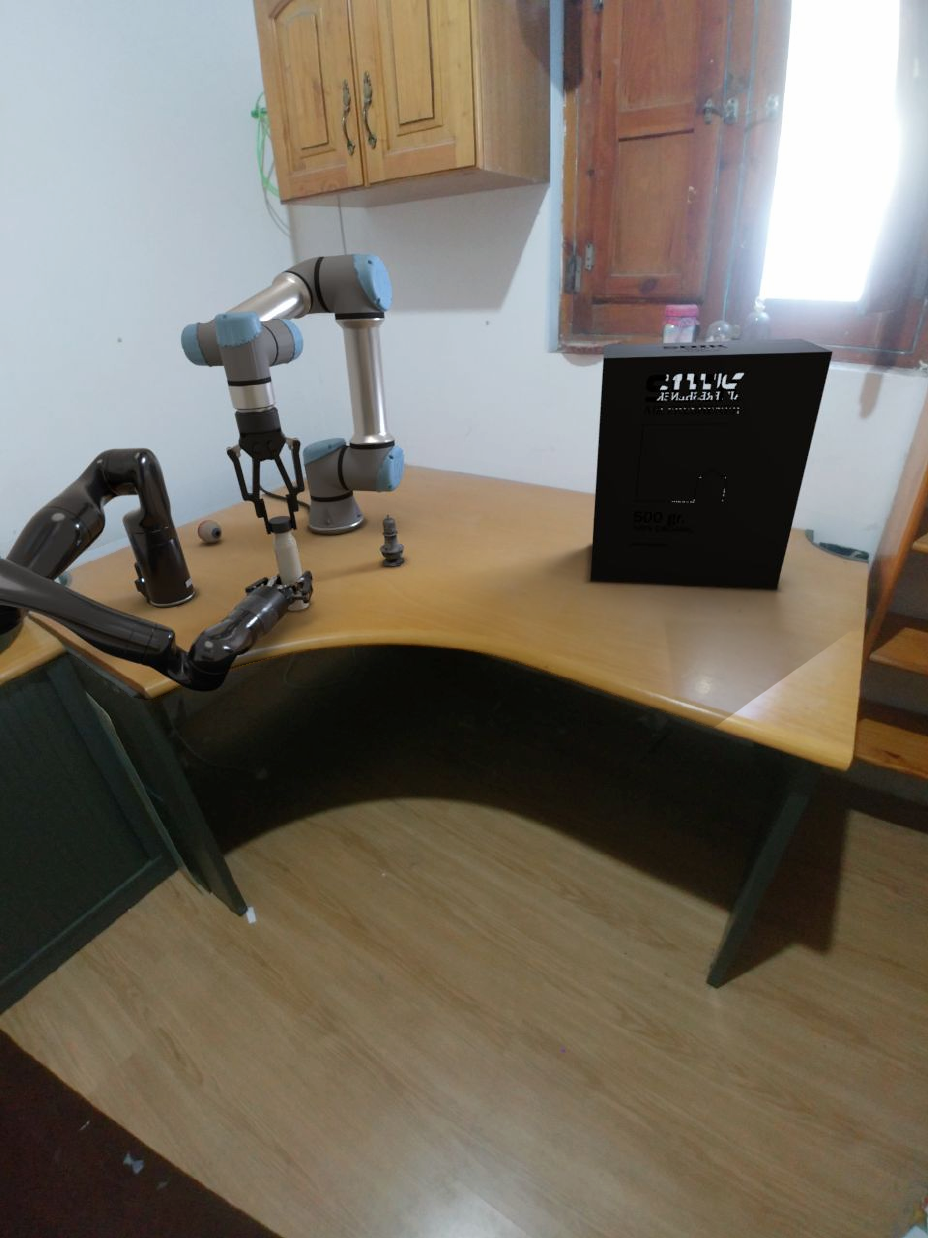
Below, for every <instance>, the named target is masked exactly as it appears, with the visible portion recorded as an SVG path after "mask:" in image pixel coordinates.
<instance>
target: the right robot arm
mask: <svg viewBox="0 0 928 1238" xmlns="http://www.w3.org/2000/svg"><path fill="white" fill-rule="evenodd" d="M392 289H393V288H392V284H391V279H390V275H389V273H388V270H387V267H386V266H385V264H384V263H383V261H382V260H381V259H380V257H378V256H377V255H376V254H372V253H359V252H358V253H351V254H339V255H328V256H326V255H325V256H315V257H311V258H307V259H305V260H303V261H301V262H299V263H297V264H294V265H292V266H291V267H289V268H287V269H286V270H284V271H282V272H280V273H278V274H277V275H276V276H275V277H274V278H273V280H272V281H271V284H270V285H269V286H267V287H266V288H264V289H262V290H260V291H259V292H257V293H255V294H254V295H252V296H250V297H249V298H247V299H245V300H243V301H242V302H240V303H239V304H237V305H235V306H234V307H232V308H231V309H229V310H227V311H225V312H222V313H217V314H216V315H215V316H214V317H213V319H211V320H209V321H207V322H198V321H197V322H196V323H189V324H187V325H185V326H184V327H183V329H182V330H181V335H180V344H181V348H182V350H183V352H184V355H185V357H186V359H187V360H188V361H189V362H190V363H192V364H193V365H195V366H199V367H200V366H201V367H209V368H213V367H223V369H224V372H225V376H226V382H227V387H228V391H229V397H230V401H231V406H232V408H233V409H235V410H236V411H235V413H234V417H235V423H236V426H237V429H238V436H239V437H238V443H236V444H233V446H227V447H226V448H225V451H226V455H227V456H228V458H229V459H230V461H231V462H232V464H233V468H234V471H235V472H234V473H235V475H236V479H237V483H238V486H239V490H240V494H241V498H242V500H243V501H244V502H251V503H252V504H253V506H254V510H255V514H256V517H257V519H263V523H264V526H265V531H266V534H267V536H269V535H272V532H271V530H270V525H269V516H268V511H267V508H266V503H265V499H264V498H261V492H262V493H264V494H265V495H267V496H270V497H272V498H276V499H280V500H283V501H286V504H287V510H288V514H289V517H290V518H291V522H292V527H293V529H292V531H296V530H298V526H297V521H296V516H295V513H298V512H299V511H300V506H299V505H302V506H304V507H306V508H307V509H308V510H309V513H308V521H307V524H308V528H309V529H308V530H310V531H311V532H312V533H314V534H317V535H323V536H324V535H325V536H327V535H329V536H331V535H339V534H340V535H341V534H345V533H350V532H353V531H355V530H357V529H359V528H361V527H362V526H363V525H364V523H365V519H364V514H363V512H362V510H361V508H360V505H359V504H358V501H357V500H356V498H355V495H354V492H355V491H356V492H375V493H385V492H386V493H391V492H393V491H395V490H397V488H398V487H399V486H400V484H401V482H402V479H403V476H404V472H405V453H404V450H403V448H402V447H400V446H399V445H396V440H395V437H394V436H393V435H392V434H391V433H390V431H389V429H388V427H389V426H388V417H387V405H386V392H385V383H384V382H385V381H384V370H383V369H384V368H383V358H382V356H383V355H382V346H381V345H382V344H381V334H380V328H381V325H382V324H383V323H384V322H385V320H386V319H385V318H386V317H385V312H387V311H389V310H390V309H391V307H392V303H393V302H392V300H393V290H392ZM315 314H334V320H335V323H336V324H337V325H338V326H339V327H340V328H341V329H342V336H343V344H344V352H345V353H344V354H345V363H346V370H347V371H346V372H347V380H348V391H349V399H350V407H351V417H352V425H353V427H352V428H353V435H352V436H351V437H350V438H349V440H348V443H349V445H348V444H347V441H346V439H345V438H342V437H334V438H328V439H323V440H318V441H315V442H313V443H309V444H308V445H306V446H305V447H304V448H303V450H302V457H303V458H302V460H303V467H304V471H305V477H306V481H307V486H308V492H309V498H310V504H308V503H307V502H304V501H302V500H298V495H299V494H301V493H303V492H306V491H305V490H306V486H305V482H304V481H305V480H304V475H303V470H302V469H303V468H302V463H301V458H300V457H301V456H300V450H301V445H302V444H301V441H300V440H299V438H298V437H294V438H292V437H289V436H286V434H285V433H284V431H283V430H282V424H281V421H280V414H279V409H278V408H277V407H276V406H275V405H276V404H277V400H276V395H275V389H274V386H273V379H272V375H271V371H270V368H271V367H276V366H279V365H284V364H285V365H286V364H287V365H288V364H290V363H291V362H293V361H295V360H297V359H299V358H300V356H301V355H302V352H303V350H304V338H303V335H302V332H301V330H300V328H299V326H297V324H295V323H294V322H293V321H291V320H292V319H295V320H298V319H302V318H304V317H305V316H307V315H315ZM285 445H287V448H288V450H289V451H290V455H291V459H292V466H293V471H294V477H295V483H296V485H294V484H293V482H292V480H291V478H290V476H289V474H288V472H287V469H286V467H285V464H284V462H283V460H282V458H281V456H280V455H281V454H282V451H283V449H284V446H285ZM241 450H242V451H243V452H244V453H246V454H247V455H248V456H249V457H250V459H251V475H252V476H251V492H248V487H247V484H246V480H245V476H244V472H243V469H242V468H243V467H242V464H241V461H240V458H241V456H242V453H241ZM266 460H267V461H274V463H275V465H276V467H277V469H278V471H279V474H280V476H281V479H282V480H283V482H284V483H283V484H285V488H286V489H287V491H288V493H287V494H285V496H283V495H280V494H276V493H274V492H273V493H272V492H270V491H268V490H266V489H265V488H263V487H262V486H261V462H265V461H266Z"/></svg>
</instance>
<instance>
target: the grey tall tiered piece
mask: <svg viewBox="0 0 928 1238" xmlns="http://www.w3.org/2000/svg"><path fill="white" fill-rule="evenodd" d="M382 528H383V529H382V530H383V532H382V536H383V538H384V544H383V545H381V546H380V547H379V551H380V553H381V555H382V557H383V558H384V559H383V560H382V564H383V565H384V566H386V567H396V566H400V565H402V564H404V562H405V558H404V557H402V555H403V553H404V550H405V546H404V544H402V543H400V542H399V541H398V534H399V532H398V531H397V527H396V521H395V519H394V518H393V517H390V515H389V514H386V517H385V518H383V520H382Z"/></svg>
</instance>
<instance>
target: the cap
mask: <svg viewBox="0 0 928 1238" xmlns="http://www.w3.org/2000/svg"><path fill="white" fill-rule="evenodd" d="M268 521H269V525H270V530H271V534H274V533H275V534H280V533H286V532H289V531H290V532H291V531H293V527H292V522H291V518H290V515H289V516H288V515H277V516H274V517H271V518H270V519H269V518H268Z"/></svg>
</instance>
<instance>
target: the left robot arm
mask: <svg viewBox="0 0 928 1238" xmlns="http://www.w3.org/2000/svg"><path fill="white" fill-rule="evenodd" d="M161 466H162V465H161V463H160V460H159V459H158V457H157V455H156V454H155V453H154V452H153V451H152V450H151V449H149V448H147V447H121V448H118V447H117V448H110V449H106V450H103V451H101V452H100V453H98V454H97V456H96V457H95V458H94V459H93V460H92V461H91V462H90V463H89V464H88V465H87V467H86V468H85V469H84V470H83V472H82V473H81V474H80V475H79V476H78V477H77V478H76V479H75V480H74V481H73V482H71V483H70V484H69V485H67V487H65V489H63V490H62V491H61V492H60V493H58V495H56V496H55V497H53V498H52V499H50V500H49V501H48V502H47V503H46V504H44V505H43V506H42V507H41V508H39V510H37V511H36V512H35V513H34V514H33V515H32V516H31V517H30V519H29V520H28V521H27V522H26V524H25V526H23V528H22V530H21V531H20V533H19V535H18V536H17V538H16V539H15V542H14V544H13V545H12V547H11V548H10V551H9V552H8V554H7V555H6V557H5V558H4V557H0V637H1V636H4V635H6V634H8V633H10V632H11V631H13V630H15V628H17V627H18V626H19V625H21V623H22V622H23V621H24V619H25V618H26V617H27V616H28V614H29V613H30V612H32V613H35V614H38V615H41V616H44V617H46V618H48V619H50V620H52V621H54V622H56V623H58V624H60V625H61V626H63V627H65V628H66V629H67V630H69V631H71V632H72V633H74V634H75V635H76V636H77V637H79V638H80V639H81V640H83V641H84V642H86V643H87V644H88V645H90V646H92V647H93V648H95V649H96V650H98V651H100V652H102V653H104V654H106V655H109V656H111V657H113V658H117V659H120V660H124V661H127V662H130V663H133V664H136V665H141V666H144V667H148V668H151V669H153V671H156V672H157V673H159V674H160V675H162V676H164V677H166V678H167V679H169V680H172V681H173V682H174V683H176V684H178V685H180V686H182V687H184V688H185V689H187V690H191V691H195V692H201V693H203V692H205V693H207V692H211V691H212V692H213V691H215V690H217V689H219V688H220V687H222V685H223V684H224V683H225V680H226V679H227V676H228V674H229V672H230V670H231V668H232V666H233V664H234V662H235V661H236V659H237V658H238V656H242V655H244V654H246V653H248V652H249V651H251V650H252V649H253V647H255V645H256V644H257V643H258V642H259V641H260V640H261V639H263V638H264V637H265V636H266V635H267V634H269V632H271V631H272V630H273V628H274V627H275V626H276V625H277V624H278V623H279V622H280V621H281V620H282V619H283V618H284V617H285V616H286V614H287V612H288V610H289V609H288V607H289V605H291V604H293V603H295V601H298V600H302V601H303V603H305V604H307V603H309V604H310V602H311V598H312V596H313V593H314V588H313V580H314V579H313V574H312V572H311V570H305V572H303V575H302V576H301V577H300V578H299V579H297V580H296V581H293V580H291V581H290V582H288V583H286V584H284V585H282V582H281V578H280V574H279V573H277V574H276V575H273V576H271V577H270V578H269V577H267V576H264V577H262V578H260V579H258V580H256V581H255V582H253V583H252V584H250V585H248V586H246V587H244V591H245V597H244V598H243V599H241V601H240V602H239V603H238V604H236V606H235V607H234V608H233V610H232V611H231V612H230V613H229V614H227V616H226V617H224V618H223V619H222V620H221V621H220V622H218V623H215V624H213V625H212V626H210V627H208V628H206V629H204V630H203V631H202V632H200V633H199V634H198V635H197V636H196V638H194V640H193V641H192V643H191V645H190V646H189V650H188V651H187V650H185V649H183V648H182V647H180V646H179V645H177V641H176V639H177V636H176V632H175V630H174V629H173V628H171V627H169V626H167V625H164V624H161V623H158V622H155V621H152V620H149V619H146V618H143V617H140V616H136V615H134V614H130V613H127V612H124V611H121V610H118V609H116V608H114V607H110V606H108V605H106V604H103V603H102V602H99V601H97V600H95V599H93V598H90V597H88V596H86V595H84V594H83V593H80V592H78V591H75V590H74V589H72V588H69V587H68V586H66V585H63V584H61V583H59V582H57V581H56V580H57V579H58V578H59V577H60V576H61V575H62V574H63V573H64V572H66V570H67V569H68V568H69V567H71V565H73V563H75V562H76V560H77V559H78V558H79V557H80V556H81V555H82V554H84V553H85V552H86V551H87V550H88V549H89V548H90V547H91V546H92V545H93V544H94V543H95V542H96V541H97V540H98V539H99V537H100V536H102V534H103V532H104V530H105V527H106V513H105V508H104V507H106V505H107V504H109V502H111V501H112V500H114V499H115V498H118V497H123V496H124V497H125V496H128V497H129V496H137V497H138V500H139V506H138V507H136V508H134V509H132V510H129V511H128V512H126V513H125V514H123V516H122V524H123V527H124V530H125V532H126V535H127V538H128V541H129V544H130V547H131V549H132V553H133V555H134V557H135V562H134V563H133V566H134V569H135V573H136V576H137V579H135V580H134V585H135V588H136V590H137V592H139V593H140V594H141V595H142V596H143V597H144V598H145V601H146V603H148V604H151V606H153V607H157V608H170V607H174V606H175V607H176V606H178V605H182V604H184V603H186V602H189V601H190V600H192V599H193V598H194V597H195V596H196V589H195V587H194V584H193V583H194V582H193V579H192V576H191V574H190V572H189V568H188V565H187V561H186V558H185V554H184V552H183V547H182V545H181V542H180V539H179V536H178V532H177V529H176V526H175V523H174V520H173V517H172V508H171V501H170V497H169V493H168V489H167V486H166V481H165V477H164V472H163V469H162V467H161ZM299 584H300V588H298V585H299Z"/></svg>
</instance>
